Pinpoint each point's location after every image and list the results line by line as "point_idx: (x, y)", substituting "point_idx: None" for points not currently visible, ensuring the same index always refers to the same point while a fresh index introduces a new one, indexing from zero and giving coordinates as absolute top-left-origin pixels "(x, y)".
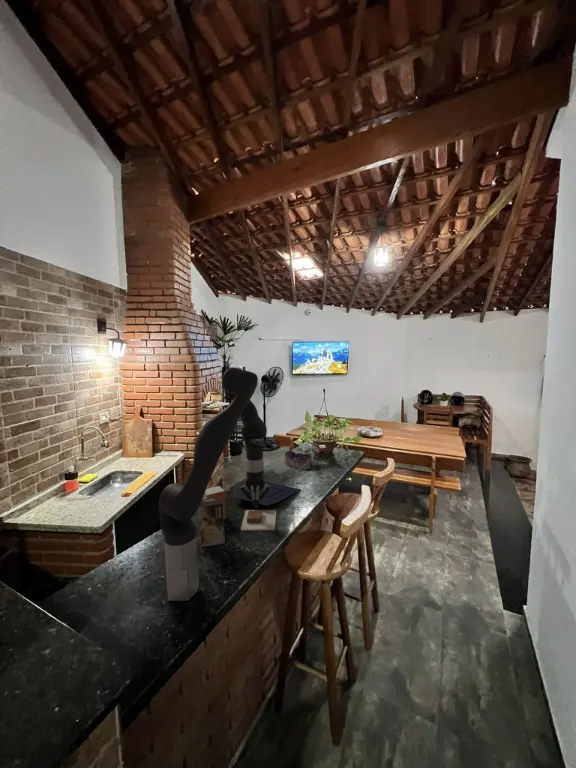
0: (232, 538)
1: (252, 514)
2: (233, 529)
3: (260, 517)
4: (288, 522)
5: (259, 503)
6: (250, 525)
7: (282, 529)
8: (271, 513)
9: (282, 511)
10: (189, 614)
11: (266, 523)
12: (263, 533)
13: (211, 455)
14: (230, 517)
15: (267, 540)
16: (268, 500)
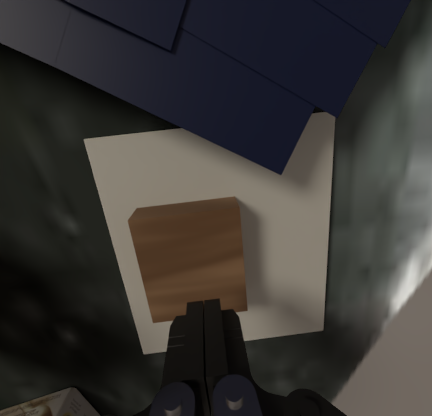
0: (129, 397)
1: (176, 271)
2: (102, 342)
3: (242, 301)
4: (397, 250)
5: (200, 130)
6: None
7: (357, 313)
8: (299, 174)
9: (376, 113)
10: None
11: (275, 292)
12: (264, 351)
13: None
14: (15, 232)
15: (288, 389)
16: (283, 10)
